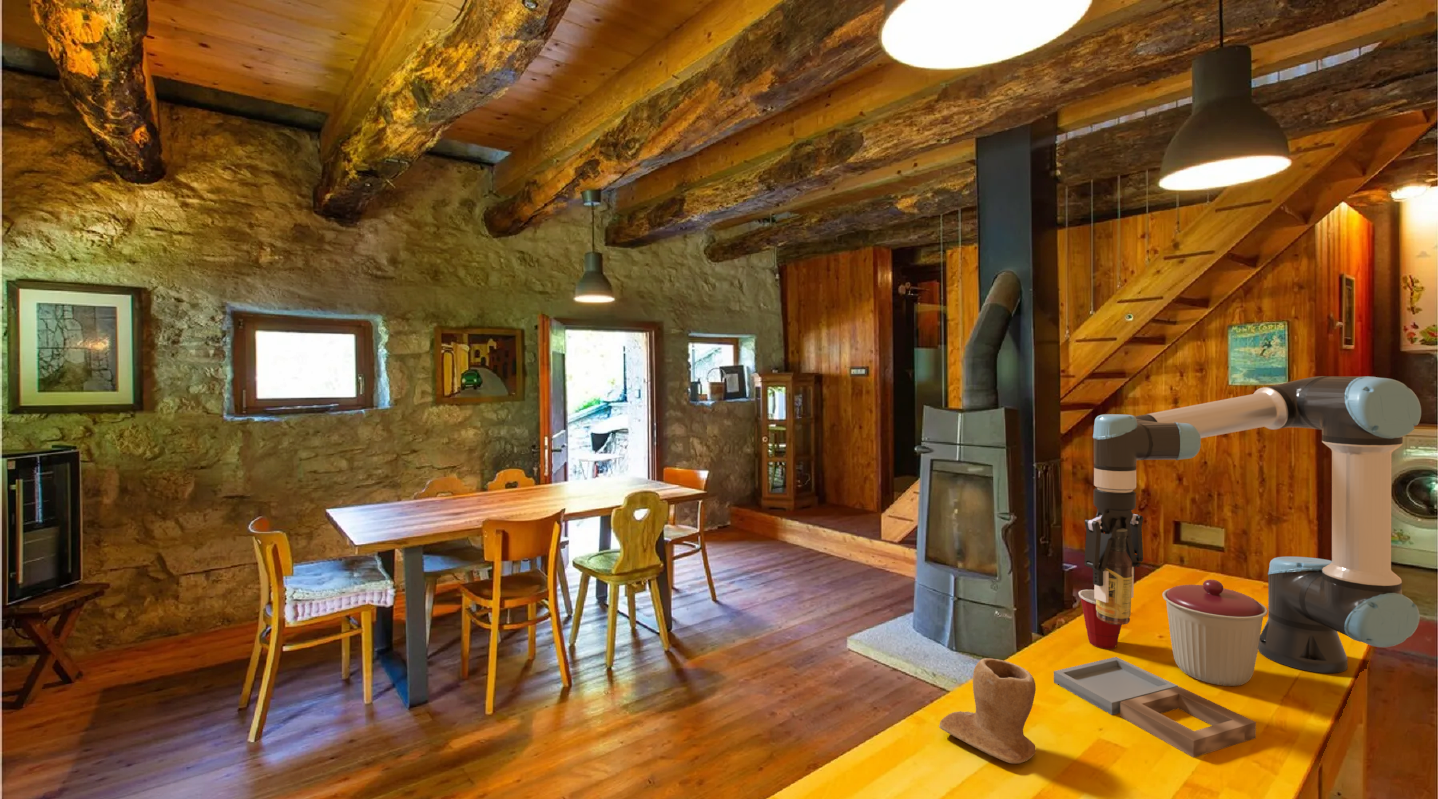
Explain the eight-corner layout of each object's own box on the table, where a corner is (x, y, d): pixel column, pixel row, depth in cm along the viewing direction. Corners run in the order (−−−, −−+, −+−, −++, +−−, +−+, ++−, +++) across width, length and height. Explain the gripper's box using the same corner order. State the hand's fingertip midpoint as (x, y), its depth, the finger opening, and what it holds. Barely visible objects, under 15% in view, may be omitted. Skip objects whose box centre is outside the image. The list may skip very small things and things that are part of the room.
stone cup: (1050, 750, 115) (1050, 669, 114) (1014, 776, 108) (1013, 690, 107) (974, 714, 127) (973, 641, 127) (937, 736, 121) (936, 658, 120)
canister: (1243, 661, 146) (1244, 570, 145) (1283, 701, 129) (1285, 598, 128) (1151, 652, 152) (1151, 564, 151) (1178, 689, 135) (1178, 590, 134)
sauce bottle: (1089, 615, 137) (1089, 524, 136) (1116, 613, 138) (1117, 522, 137) (1110, 628, 131) (1111, 532, 130) (1139, 626, 131) (1140, 530, 130)
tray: (1116, 667, 145) (1116, 656, 145) (1177, 697, 131) (1177, 685, 131) (1053, 682, 139) (1053, 671, 139) (1111, 715, 126) (1111, 702, 126)
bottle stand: (1179, 700, 130) (1179, 686, 130) (1255, 738, 117) (1255, 722, 117) (1120, 716, 125) (1120, 701, 125) (1193, 757, 112) (1193, 740, 112)
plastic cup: (1137, 655, 150) (1138, 605, 150) (1087, 652, 152) (1087, 603, 152) (1118, 636, 161) (1119, 589, 160) (1071, 633, 163) (1071, 587, 162)
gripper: (1132, 482, 140) (1131, 586, 141) (1063, 489, 133) (1063, 598, 135) (1165, 487, 132) (1164, 597, 134) (1095, 496, 126) (1094, 610, 128)
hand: (1113, 597), depth 134 cm, fingers closed on sauce bottle, 6 cm apart
